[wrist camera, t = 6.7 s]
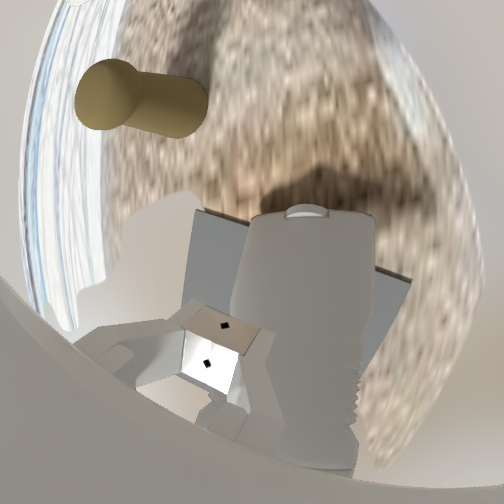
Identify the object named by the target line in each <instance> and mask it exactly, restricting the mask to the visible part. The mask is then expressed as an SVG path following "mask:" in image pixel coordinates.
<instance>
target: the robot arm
mask: <svg viewBox="0 0 504 504" xmlns="http://www.w3.org/2000/svg"><path fill="white" fill-rule="evenodd" d="M65 1H66V2H67V3H69V4H70V5H71V6H78V5H81V4H83V3H85V2H86V1H88V0H65ZM275 338H276V333H274V332H272V331H269V330H266V329H263V328H259V327H257V326H254V325H251V324H249V323H246V322H244V321H241V320H239V319H236V318H234V317H232V316H230V315H228V314H226V313H223V312H221V311H219V310H217V309H215V308H212V307H210V306H208V305H206V304H204V303H201V302H199V301H197V300H195V299H194V300H190V301H189V302H188V303H187V304H186V305H184V306H183V307H182V308H181V309H180V310H178V311H177V312H176V313H175V314H174V315H172V316H171V317H170V318H169V319H167V320H165V319H156V320H150V321H143V322H134V323H128V324H127V323H126V324H118V325H110V326H101V327H97V328H96V329H94V330H93V331H92V332H90V333H88V334H87V335H85V336H84V337H82V338H81V339H79V340H78V341H76V342H75V343H73V344H72V343H70V342H69V341H68V340H67V339H66V338H64V337H63V336H62V335H61V334H60V333H59V332H58V331H56V330H55V329H54V328H53V327H52V326H51V325H50V324H49V323H48V322H47V321H45V320H44V319H43V318H42V317H41V316H40V315H39V314H38V313H37V312H36V311H35V310H34V309H33V308H32V307H31V306H30V305H29V304H28V303H27V302H26V301H25V300H24V299H23V298H22V297H21V296H20V295H19V294H18V293H17V292H16V291H15V289H14V288H13V287H12V286H11V285H10V284H9V283H8V282H7V281H6V279H5V278H4V277H3V276H2V275H1V274H0V504H504V484H501V485H493V486H484V487H469V488H424V487H409V486H398V485H389V484H381V483H375V482H369V481H363V480H357V479H352V478H347V477H342V476H338V475H333V474H329V473H325V472H321V471H317V470H313V469H310V468H306V467H303V466H299V465H296V464H293V463H289V462H286V461H283V460H280V459H277V458H274V457H273V455H274V453H275V450H276V448H277V445H278V443H279V440H280V437H281V435H282V432H283V429H284V427H285V424H286V423H285V420H284V418H283V415H282V412H281V409H280V406H279V403H278V400H277V397H276V395H275V392H274V389H273V386H272V383H271V380H270V377H269V374H268V371H267V368H266V366H265V364H266V362H267V359H268V356H269V354H270V351H271V349H272V346H273V343H274V340H275ZM180 371H181V372H183V373H185V374H187V375H189V376H191V377H193V378H195V379H198V380H200V381H202V382H204V383H206V384H208V385H210V386H212V387H214V388H216V389H218V390H220V391H222V392H224V393H226V394H227V403H224V404H223V405H222V406H221V408H220V409H219V411H218V412H217V414H216V415H215V417H214V418H213V420H212V421H211V423H210V424H209V426H208V427H207V429H204V428H202V427H200V426H198V425H196V424H194V423H192V422H190V421H188V420H186V419H184V418H182V417H180V416H178V415H176V414H175V413H173V412H171V411H169V410H168V409H166V408H164V407H162V406H161V405H159V404H157V403H155V402H154V401H152V400H150V399H149V398H147V397H145V396H144V395H142V394H141V393H139V392H138V391H136V387H140V386H143V385H146V384H149V383H152V382H155V381H158V380H160V379H163V378H166V377H169V376H172V375H175V374H177V373H180Z"/></svg>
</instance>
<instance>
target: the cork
mask: <svg viewBox="0 0 504 504" xmlns="http://www.w3.org/2000/svg"><path fill="white" fill-rule="evenodd" d="M207 108H208V98H207V94H206V92H205V89H204V87H203V86H202V85H201V84H200V83H199V82H198V81H195V80H193V79H190V78H184V77H178V76H172V75H165V74H157V73H149V72H140V71H137V70H136V69H135V68H134V67H133V66H132V65H131V64H130V63H128V62H125V61H122V60H119V59H106V60H102V61H99V62H97V63H95V64H94V65H92V66H91V67H90V68H89V69H88V70H87V71H86V72H85V73H84V75H83V76H82V78H81V80H80V82H79V84H78V87H77V90H76V94H75V112H76V116H77V117H78V119H79V120H80V122H81V123H82V124H83V125H85V126H87V127H88V128H90V129H93V130H110V129H113V128H116V127H118V126H120V125H126V126H130V127H133V128H137V129H141V130H145V131H148V132H152V133H156V134H159V135H163V136H166V137H170V138H177V139H179V138H183V137H187V136H189V135H190V134H192V133H193V132H195V131H196V130H197V129H198V128H199V126H200V125H201V124H202V122H203V120H204V118H205V116H206V113H207Z"/></svg>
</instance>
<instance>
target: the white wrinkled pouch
mask: <svg viewBox="0 0 504 504" xmlns="http://www.w3.org/2000/svg"><path fill="white" fill-rule="evenodd" d="M374 289H375V219H374V218H373V217H372V215H369V214H367V213H364V212H360V211H347V210H333V209H329V210H328V209H326V208H324V207H321V206H318V205H314V204H299V205H295V206H292V207H290V208H289V209H287V210H286V211H280V212H273V213H266V214H260V215H256V216H255V217H253V218H251V222H250V226H249V230H248V233H247V237H246V241H245V245H244V249H243V253H242V256H241V260H240V264H239V268H238V272H237V276H236V280H235V284H234V288H233V292H232V296H231V300H230V316H232V317H234V318H236V319H239V320H241V321H244V322H246V323H249V324H251V325H254V326H257V327H259V328H263V329H266V330H269V331H272V332H274V333H276V338H275V340H274V343H273V346H272V349H271V351H270V354H269V356H268V359H267V362H266V364H265V366H266V368H267V371H268V374H269V377H270V380H271V383H272V386H273V389H274V392H275V395H276V397H277V400H278V403H279V406H280V409H281V412H282V415H283V418H284V420H285V423H286V424H285V427H284V429H283V432H282V435H281V437H280V440H279V443H278V445H277V448H276V450H275V453H274V455H273V457H274V458H277V459H280V460H283V461H286V462H289V463H293V464H296V465H299V466H303V467H306V468H310V469H313V470H317V471H321V472H325V473H329V474H333V475H338V476H342V477H347V478H352V476H353V473H354V469H353V468H355V465H356V461H357V456H358V446H359V442H358V440H357V439H356V437H355V435H354V433H353V432H352V430H351V428H350V426H349V425H350V424H353V423H355V422H356V417H357V414H355V413H354V411H353V410H354V409H356V408H357V407H358V406H357V405H356V404H355V401H356V400H357V399H358V397H357V396H356V393H357V392H358V391H359V390H360V389H359V387H358V386H357V384H359V383H361V382H360V381H359V380H358V378H360V377H361V375H359V374H358V373H359V372H360V371H361V368H360V367H359V366H360V365H361V364H362V363H363V361H362V359H361V358H362V357H363V356H364V355H363V354H362V351H363V350H364V349H365V347H364V346H363V345H362V340H363V337H364V335H365V332H366V330H367V327H368V325H369V322H370V320H371V317H372V315H373V309H374ZM208 396H209V397H210V398H211V399H212V401H211V402H210V403H209V404H208V405H206V406H205V407H204V408H203V409H202V410H200V411H199V414H198V416H197V419H196V422H195V424H196V425H198V426H200V427H202V428H204V429H207V427H208V426H209V424H210V423H211V421H212V420H213V418H214V417H215V415H216V414H217V412H218V411H219V409H220V408H221V406H222V405H223V404H224V403H227V394H226V393H224V392H222V391H220V390H218V389H216V388H212V389H210V392H209V394H208Z"/></svg>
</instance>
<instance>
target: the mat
mask: <svg viewBox="0 0 504 504" xmlns="http://www.w3.org/2000/svg"><path fill="white" fill-rule="evenodd" d="M248 230H249V226H247V225H244V224H241V223H238V222H235V221H232V220H229V219H226V218H223V217H220V216H217V215H213V214H210V213H207V212H204V211H201V210H198V209H196V210H195V215H194V221H193V227H192V233H191V239H190V246H189V252H188V259H187V266H186V273H185V281H184V289H183V297H182V305H181V308H182V307H183V306H184V305H186V304H187V303H188V302H189V301H190V300H194V299H195V300H197V301H199V302H201V303H204V304H206V305H208V306H210V307H212V308H215V309H217V310H219V311H221V312H223V313H226V314H228V315H230V300H231V296H232V292H233V288H234V284H235V280H236V276H237V272H238V268H239V264H240V260H241V256H242V253H243V249H244V245H245V241H246V237H247V233H248ZM411 285H412V284H411V283H409V282H406V281H404V280H401V279H398V278H396V277H393V276H390V275H388V274H385V273H382V272H379V271H377V270H375V289H374V309H373V315H372V317H371V320H370V322H369V325H368V327H367V330H366V332H365V335H364V337H363V340H362V345H363V346H364V347H365V349H364V350H363V351H362V354H363V355H364V356H363V357H362V358H361V359H362V361H363V363H362V364H361V365H360V366H359V367H360V368H361V371H360V372H359V373H358V374H359V375H362V374H363V372H364V371H365V369H366V368H367V366H368V364H369V363H370V361H371V360H372V358H373V356H374V355H375V353H376V351H377V350H378V348H379V346H380V344H381V343H382V341H383V339H384V337H385V336H386V334H387V332H388V330H389V328H390V327H391V325H392V323H393V321H394V319H395V317H396V315H397V313H398V311H399V309H400V307H401V306H402V304H403V301H404V299H405V297H406V295H407V293H408V291H409V289H410V287H411ZM175 375H177V376H179V377H181V378H183V379H184V380H187V381H188V382H190V383H192V384H194V385H196V386H198V387H200V388H202V389H204V390H206V391H208V392H210V389H212V388H214V387H212V386H210V385H208V384H206V383H204V382H202V381H200V380H198V379H195V378H193V377H191V376H189V375H187V374H185V373H183V372H181V371H180V373H177V374H175ZM358 380H359V378H358Z"/></svg>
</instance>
